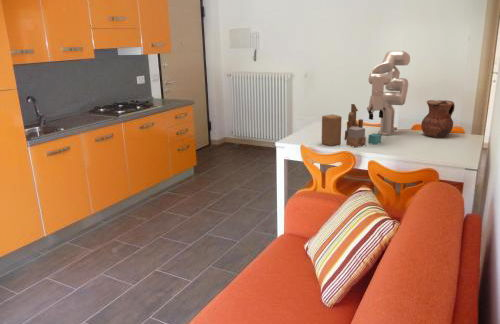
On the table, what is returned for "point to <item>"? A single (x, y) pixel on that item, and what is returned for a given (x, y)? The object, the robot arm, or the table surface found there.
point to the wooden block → (331, 129)
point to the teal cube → (374, 138)
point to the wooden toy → (353, 120)
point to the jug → (438, 118)
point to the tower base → (356, 141)
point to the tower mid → (356, 132)
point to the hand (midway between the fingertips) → (375, 118)
